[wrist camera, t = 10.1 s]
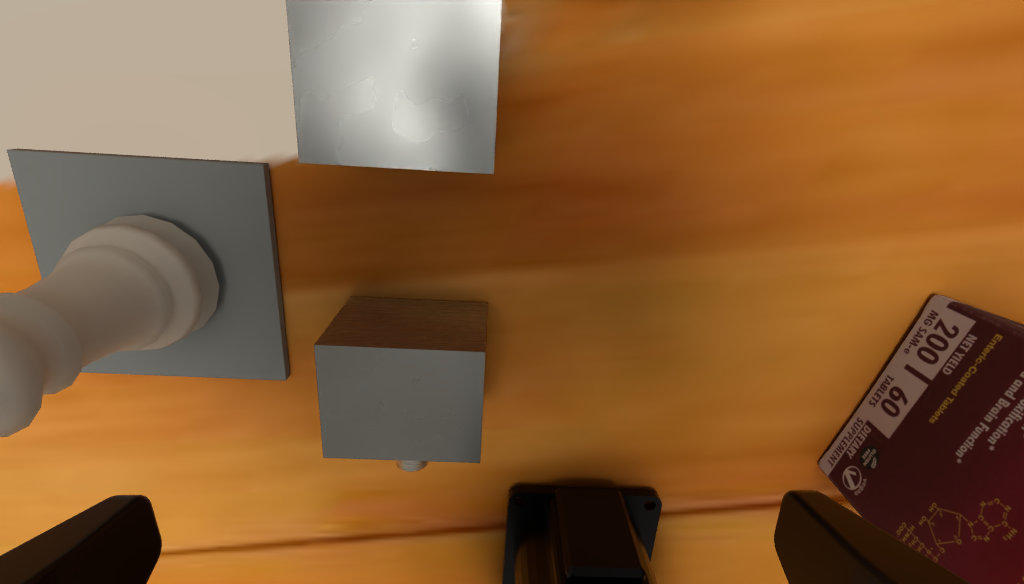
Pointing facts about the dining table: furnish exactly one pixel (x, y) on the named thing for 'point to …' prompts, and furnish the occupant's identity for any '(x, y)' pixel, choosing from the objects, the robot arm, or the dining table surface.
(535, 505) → the robot arm
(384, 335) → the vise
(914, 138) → the dining table surface
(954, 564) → the supplement box
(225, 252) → the mat
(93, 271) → the rook chess piece
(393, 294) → the dining table surface
